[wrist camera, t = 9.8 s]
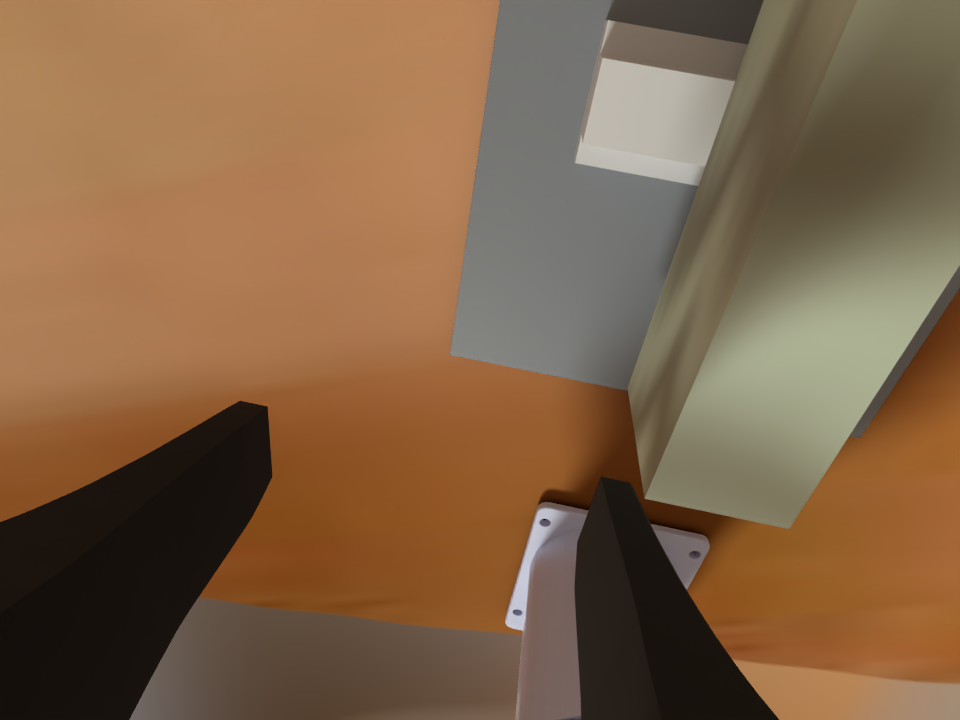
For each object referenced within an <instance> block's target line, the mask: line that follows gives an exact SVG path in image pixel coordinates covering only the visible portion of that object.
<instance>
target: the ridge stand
mask: <svg viewBox="0 0 960 720" xmlns="http://www.w3.org/2000/svg"><path fill="white" fill-rule="evenodd" d="M763 1H764V0H500V5H499V12H498V19H497V26H496V33H495V40H494V47H493V54H492V61H491V69H490V76H489V83H488V90H487V97H486V104H485V111H484V118H483V125H482V132H481V139H480V146H479V153H478V161H477V168H476V175H475V182H474V189H473V196H472V203H471V210H470V217H469V224H468V231H467V238H466V245H465V253H464V260H463V267H462V274H461V281H460V288H459V295H458V302H457V309H456V316H455V323H454V330H453V337H452V345H451V352H450V355H454V356H459V357H464V358H468V359H473V360H478V361H483V362H488V363H493V364H498V365H503V366H508V367H513V368H518V369H523V370H527V371H532V372H537V373H542V374H547V375H552V376H557V377H562V378H567V379H572V380H577V381H582V382H586V383H591V384H596V385H601V386H606V387H611V388H616V389H621V390H626V391H628V385H629V382H630V379H631V377H632V374H633V371H634V368H635V365H636V362H637V359H638V357H639V354H640V351H641V348H642V345H643V342H644V340H645V337H646V334H647V331H648V328H649V325H650V322H651V320H652V317H653V314H654V311H655V308H656V305H657V303H658V300H659V297H660V294H661V291H662V288H663V285H664V283H665V280H666V277H667V274H668V271H669V268H670V266H671V263H672V260H673V257H674V254H675V251H676V248H677V246H678V243H679V240H680V237H681V234H682V231H683V229H684V226H685V223H686V220H687V217H688V214H689V211H690V209H691V206H692V203H693V200H694V197H695V194H696V192H697V189H698V186H699V183H700V180H701V177H702V174H703V172H704V169H705V166H706V163H707V160H708V157H709V155H710V152H711V149H712V146H713V143H714V140H715V137H716V135H717V132H718V129H719V126H720V123H721V120H722V117H723V115H724V112H725V109H726V106H727V103H728V100H729V98H730V95H731V92H732V89H733V86H734V83H735V80H736V78H737V75H738V72H739V69H740V66H741V63H742V61H743V58H744V55H745V52H746V49H747V46H748V43H749V41H750V38H751V35H752V32H753V29H754V26H755V24H756V21H757V18H758V15H759V12H760V9H761V6H762V4H763ZM959 289H960V266H959V267H958V269H957V270H956V272H955V273H954V275H953V276H952V278H951V280H950V281H949V283H948V284H947V286H946V287H945V289H944V290H943V292H942V293H941V295H940V296H939V298H938V300H937V301H936V303H935V304H934V306H933V307H932V309H931V310H930V312H929V313H928V315H927V317H926V318H925V320H924V321H923V323H922V324H921V326H920V327H919V329H918V330H917V332H916V334H915V335H914V337H913V338H912V340H911V341H910V343H909V344H908V346H907V347H906V349H905V351H904V352H903V354H902V355H901V357H900V358H899V360H898V361H897V363H896V364H895V366H894V368H893V369H892V371H891V372H890V374H889V375H888V377H887V378H886V380H885V381H884V383H883V385H882V386H881V388H880V389H879V391H878V392H877V394H876V395H875V397H874V398H873V400H872V401H871V403H870V405H869V406H868V408H867V409H866V411H865V412H864V414H863V415H862V417H861V418H860V420H859V422H858V423H857V425H856V426H855V428H854V429H853V431H852V432H851V434H850V435H849V436H852V437H857V438H860V437H861V436H862V434H863V433H864V431H865V430H866V428H867V427H868V425H869V424H870V422H871V421H872V419H873V418H874V416H875V415H876V413H877V412H878V410H879V409H880V407H881V406H882V404H883V403H884V401H885V400H886V398H887V397H888V395H889V394H890V392H891V391H892V389H893V388H894V386H895V385H896V383H897V382H898V380H899V379H900V377H901V376H902V374H903V373H904V371H905V370H906V368H907V367H908V365H909V364H910V362H911V361H912V359H913V358H914V356H915V355H916V353H917V352H918V350H919V349H920V347H921V346H922V344H923V343H924V341H925V340H926V338H927V337H928V335H929V334H930V332H931V331H932V329H933V328H934V326H935V325H936V323H937V322H938V320H939V319H940V317H941V316H942V314H943V313H944V311H945V310H946V308H947V307H948V305H949V304H950V302H951V301H952V299H953V298H954V296H955V295H956V293H957V292H958V290H959Z"/></svg>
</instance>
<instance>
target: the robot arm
mask: <svg viewBox="0 0 960 720" xmlns="http://www.w3.org/2000/svg"><path fill="white" fill-rule="evenodd" d="M271 478H272V465H271V450H270V436H269V421H268V407H267V406H262V405H258V404H253V403H248V402H243V401H239V402H237V403H235V404H234V405H232V406H230V407H228V408H226V409H225V410H223V411H221V412H220V413H218V414H216V415H214V416H213V417H211V418H209V419H208V420H206V421H204V422H202V423H201V424H199V425H197V426H196V427H194V428H192V429H191V430H189V431H187V432H185V433H184V434H182V435H180V436H178V437H177V438H175V439H173V440H171V441H170V442H168V443H166V444H164V445H163V446H161V447H159V448H157V449H156V450H154V451H152V452H150V453H149V454H147V455H145V456H143V457H141V458H139V459H137V460H135V461H133V462H131V463H129V464H128V465H126V466H124V467H122V468H120V469H118V470H116V471H114V472H112V473H110V474H108V475H106V476H104V477H103V478H101V479H99V480H97V481H95V482H93V483H91V484H89V485H86V486H84V487H82V488H80V489H78V490H76V491H74V492H72V493H69V494H67V495H65V496H63V497H60V498H58V499H56V500H54V501H51V502H49V503H47V504H44V505H42V506H40V507H37V508H35V509H33V510H30V511H28V512H26V513H23V514H21V515H18V516H15V517H13V518H10V519H8V520H5V521H2V522H0V720H129V719H130V717H131V715H132V713H133V711H134V710H135V708H136V706H137V704H138V702H139V700H140V698H141V696H142V694H143V692H144V690H145V688H146V686H147V685H148V683H149V681H150V679H151V677H152V675H153V673H154V671H155V670H156V668H157V666H158V664H159V662H160V660H161V659H162V657H163V655H164V653H165V651H166V649H167V648H168V646H169V644H170V642H171V640H172V639H173V637H174V635H175V633H176V631H177V630H178V628H179V626H180V625H181V623H182V622H183V620H184V618H185V617H186V615H187V614H188V612H189V610H190V609H191V607H192V606H193V604H194V603H195V601H196V600H197V598H198V597H199V596H200V594H201V593H202V591H203V590H204V588H205V587H206V585H207V584H208V582H209V581H210V579H211V578H212V576H213V575H214V573H215V572H216V570H217V569H218V567H219V566H220V565H221V563H222V562H223V560H224V559H225V557H226V556H227V554H228V553H229V551H230V550H231V548H232V547H233V545H234V544H235V542H236V541H237V539H238V538H239V536H240V535H241V533H242V532H243V530H244V529H245V527H246V526H247V524H248V523H249V521H250V520H251V518H252V516H253V514H254V512H255V510H256V508H257V507H258V505H259V503H260V501H261V499H262V497H263V495H264V493H265V491H266V489H267V486H268V484H269V482H270V480H271ZM542 519H548V520H542ZM709 549H710V544H709V541H708V538H707V537H706V536H704V535H701V534H696V533H692V532H687V531H682V530H678V529H673V528H668V527H663V526H659V525H654V524H650V522H649V520H648V518H647V516H646V514H645V512H644V509H643V507H642V505H641V503H640V501H639V499H638V497H637V495H636V493H635V490H634V488H633V487H632V485H631V484H630V483H628V482H624V481H619V480H614V479H609V478H605V477H601V478H600V480H599V483H598V486H597V489H596V491H595V494H594V497H593V500H592V503H591V505H590V508H589V511H588V510H584V509H579V508H574V507H570V506H565V505H560V504H556V503H551V502H544V503H541V504H539V505H538V507H537V510H536V513H535V516H534V520H533V523H532V527H531V530H530V534H529V537H528V541H527V544H526V548H525V551H524V554H523V558H522V561H521V565H520V568H519V572H518V575H517V579H516V582H515V586H514V589H513V592H512V596H511V599H510V603H509V606H508V610H507V613H506V618H505V623H506V625H507V626H509V627H510V628H513V629H518V630H522V631H523V635H522V647H521V660H520V672H519V685H518V696H517V708H516V720H779V719H778V718H777V716H776V715H775V714H774V713H773V712H772V711H771V709H770V708H769V707H768V706H767V704H766V703H765V702H764V701H763V700H762V699H761V697H760V696H759V695H758V693H757V692H756V691H755V690H754V688H753V687H752V686H751V684H750V683H749V682H748V681H747V679H746V678H745V677H744V675H743V674H742V673H741V671H740V670H739V669H738V667H737V666H736V664H735V663H734V662H733V660H732V659H731V657H730V656H729V655H728V653H727V652H726V650H725V649H724V648H723V646H722V645H721V643H720V642H719V640H718V639H717V637H716V636H715V634H714V633H713V631H712V630H711V628H710V627H709V625H708V624H707V622H706V621H705V619H704V618H703V616H702V614H701V613H700V611H699V610H698V608H697V606H696V605H695V603H694V602H693V600H692V598H691V597H690V595H689V593H688V592H687V589H688V587H689V585H690V583H691V581H692V580H693V578H694V576H695V574H696V572H697V571H698V569H699V567H700V565H701V563H702V562H703V560H704V558H705V556H706V554H707V553H708V551H709ZM692 551H696V552H692Z"/></svg>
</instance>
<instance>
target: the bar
mask: <svg viewBox="0 0 960 720" xmlns="http://www.w3.org/2000/svg"><path fill="white" fill-rule="evenodd" d="M959 266H960V0H764V1H763V4H762V6H761V9H760V12H759V15H758V18H757V21H756V24H755V26H754V29H753V32H752V35H751V38H750V41H749V43H748V46H747V49H746V52H745V55H744V58H743V61H742V63H741V66H740V69H739V72H738V75H737V78H736V80H735V83H734V86H733V89H732V92H731V95H730V98H729V100H728V103H727V106H726V109H725V112H724V115H723V117H722V120H721V123H720V126H719V129H718V132H717V135H716V137H715V140H714V143H713V146H712V149H711V152H710V155H709V157H708V160H707V163H706V166H705V169H704V172H703V174H702V177H701V180H700V183H699V186H698V189H697V192H696V194H695V197H694V200H693V203H692V206H691V209H690V211H689V214H688V217H687V220H686V223H685V226H684V229H683V231H682V234H681V237H680V240H679V243H678V246H677V248H676V251H675V254H674V257H673V260H672V263H671V266H670V268H669V271H668V274H667V277H666V280H665V283H664V285H663V288H662V291H661V294H660V297H659V300H658V303H657V305H656V308H655V311H654V314H653V317H652V320H651V322H650V325H649V328H648V331H647V334H646V337H645V340H644V342H643V345H642V348H641V351H640V354H639V357H638V359H637V362H636V365H635V368H634V371H633V374H632V377H631V379H630V382H629V385H628V395H629V401H630V408H631V414H632V421H633V427H634V434H635V440H636V447H637V453H638V460H639V466H640V473H641V480H642V486H643V493H644V499H648V500H653V501H658V502H662V503H667V504H672V505H677V506H682V507H686V508H691V509H696V510H701V511H706V512H710V513H715V514H720V515H725V516H729V517H734V518H739V519H744V520H749V521H753V522H758V523H763V524H768V525H772V526H777V527H782V528H787V529H789V528H790V527H791V525H792V523H793V522H794V520H795V519H796V517H797V516H798V514H799V513H800V511H801V510H802V508H803V506H804V505H805V503H806V502H807V500H808V499H809V497H810V496H811V494H812V493H813V491H814V490H815V488H816V486H817V485H818V483H819V482H820V480H821V479H822V477H823V476H824V474H825V473H826V471H827V469H828V468H829V466H830V465H831V463H832V462H833V460H834V459H835V457H836V456H837V454H838V452H839V451H840V449H841V448H842V446H843V445H844V443H845V442H846V440H847V439H848V437H849V435H850V434H851V432H852V431H853V429H854V428H855V426H856V425H857V423H858V422H859V420H860V418H861V417H862V415H863V414H864V412H865V411H866V409H867V408H868V406H869V405H870V403H871V401H872V400H873V398H874V397H875V395H876V394H877V392H878V391H879V389H880V388H881V386H882V385H883V383H884V381H885V380H886V378H887V377H888V375H889V374H890V372H891V371H892V369H893V368H894V366H895V364H896V363H897V361H898V360H899V358H900V357H901V355H902V354H903V352H904V351H905V349H906V347H907V346H908V344H909V343H910V341H911V340H912V338H913V337H914V335H915V334H916V332H917V330H918V329H919V327H920V326H921V324H922V323H923V321H924V320H925V318H926V317H927V315H928V313H929V312H930V310H931V309H932V307H933V306H934V304H935V303H936V301H937V300H938V298H939V296H940V295H941V293H942V292H943V290H944V289H945V287H946V286H947V284H948V283H949V281H950V280H951V278H952V276H953V275H954V273H955V272H956V270H957V269H958V267H959Z"/></svg>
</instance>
